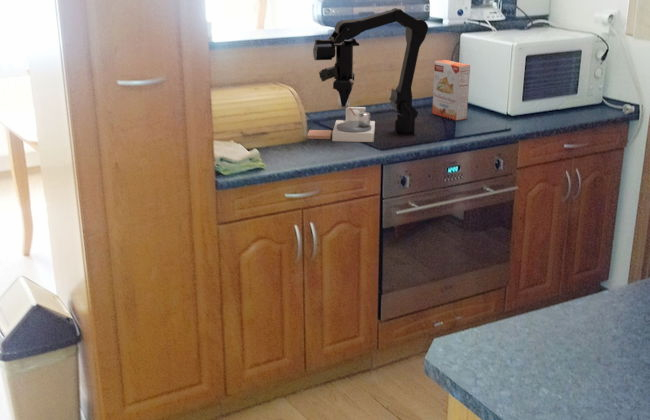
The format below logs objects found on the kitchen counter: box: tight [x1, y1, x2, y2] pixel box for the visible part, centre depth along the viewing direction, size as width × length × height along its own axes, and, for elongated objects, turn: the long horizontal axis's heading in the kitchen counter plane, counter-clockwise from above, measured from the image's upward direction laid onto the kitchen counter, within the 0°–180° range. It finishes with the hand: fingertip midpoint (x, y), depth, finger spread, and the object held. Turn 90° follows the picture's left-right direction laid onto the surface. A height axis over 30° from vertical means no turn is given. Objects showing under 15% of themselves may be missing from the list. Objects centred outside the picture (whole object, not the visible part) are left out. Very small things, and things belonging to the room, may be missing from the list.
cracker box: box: [431, 59, 471, 122], centre depth 282 cm, size 14×6×21 cm, turn 32°
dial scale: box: [331, 106, 376, 143], centre depth 259 cm, size 14×18×8 cm
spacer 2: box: [358, 112, 371, 128], centre depth 256 cm, size 4×4×4 cm
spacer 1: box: [337, 92, 351, 109], centre depth 254 cm, size 4×4×4 cm
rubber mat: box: [306, 129, 333, 140], centre depth 259 cm, size 8×8×1 cm
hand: (343, 105), depth 255 cm, fingers closed on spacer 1, 4 cm apart
